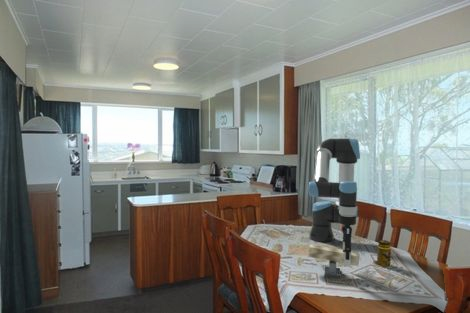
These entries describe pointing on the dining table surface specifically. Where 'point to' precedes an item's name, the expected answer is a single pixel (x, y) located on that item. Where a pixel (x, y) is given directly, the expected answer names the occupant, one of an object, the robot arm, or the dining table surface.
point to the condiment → (383, 254)
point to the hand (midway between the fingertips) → (346, 260)
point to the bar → (331, 254)
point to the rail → (332, 270)
